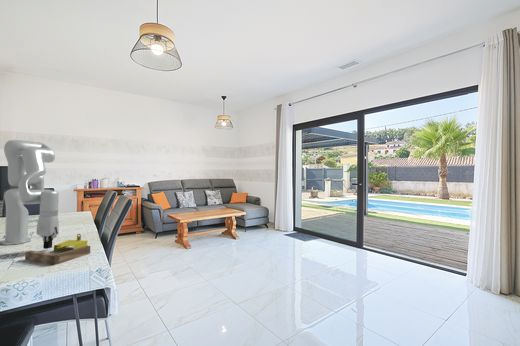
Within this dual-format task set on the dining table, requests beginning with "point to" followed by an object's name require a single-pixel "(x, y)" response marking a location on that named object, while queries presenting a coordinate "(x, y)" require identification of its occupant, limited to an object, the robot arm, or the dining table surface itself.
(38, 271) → the dining table surface
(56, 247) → the bracket
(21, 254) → the dining table surface
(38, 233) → the robot arm
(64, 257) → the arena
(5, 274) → the dining table surface
